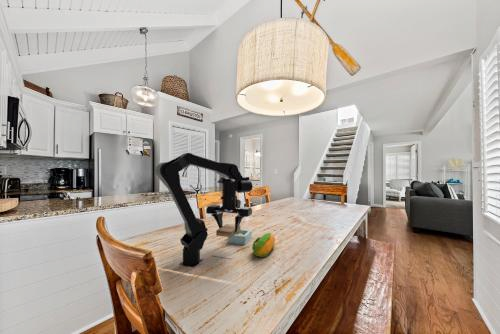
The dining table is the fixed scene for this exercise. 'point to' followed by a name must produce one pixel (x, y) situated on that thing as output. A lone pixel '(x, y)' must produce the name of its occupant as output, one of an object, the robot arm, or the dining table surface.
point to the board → (227, 230)
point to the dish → (241, 237)
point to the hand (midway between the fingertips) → (228, 231)
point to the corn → (263, 245)
